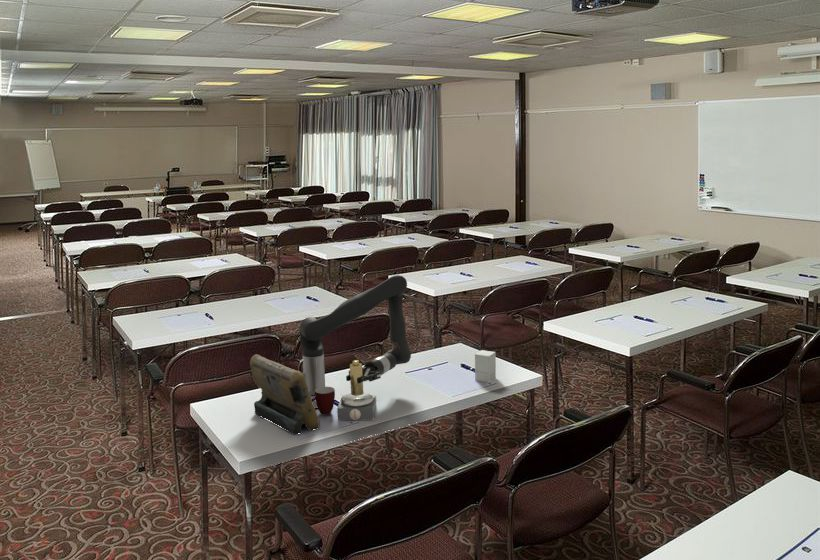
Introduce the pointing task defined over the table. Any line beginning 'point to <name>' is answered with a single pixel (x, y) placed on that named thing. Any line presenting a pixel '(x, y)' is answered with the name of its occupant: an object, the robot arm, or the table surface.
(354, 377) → the calibration weight
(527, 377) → the table surface
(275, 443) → the table surface
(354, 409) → the scale housing
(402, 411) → the table surface
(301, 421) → the tablet
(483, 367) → the supplement box
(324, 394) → the mug
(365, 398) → the scale platter
